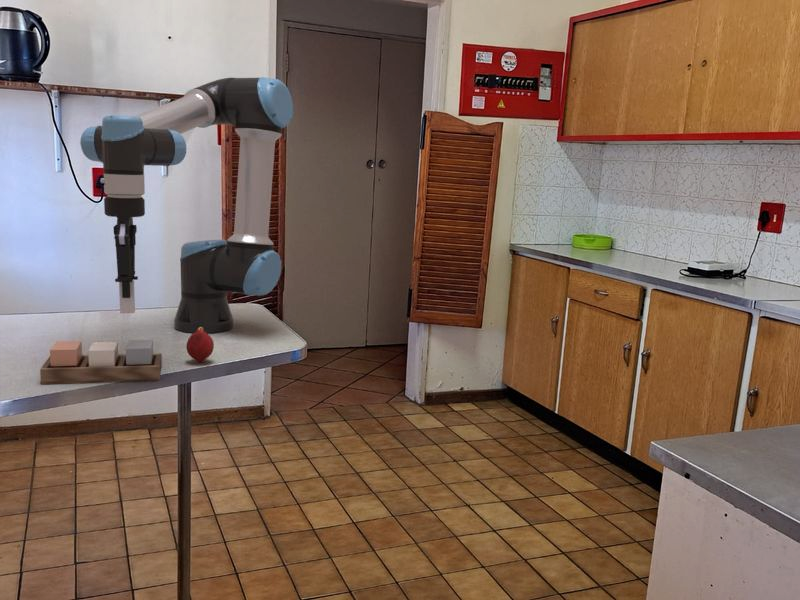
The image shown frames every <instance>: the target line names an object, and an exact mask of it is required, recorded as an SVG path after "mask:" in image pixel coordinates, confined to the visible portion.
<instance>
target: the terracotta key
mask: <svg viewBox="0 0 800 600" xmlns="http://www.w3.org/2000/svg"><path fill="white" fill-rule="evenodd" d="M82 355H83V344H82V340H68V341H67V340H64V341H63V340H60V341H57V340H56V341H55V342H54V344H53V345H52V346H51V348H50V349H49V357H50V364H51V366H77V365H78V363H79V361H80V359H81V358H82Z"/></svg>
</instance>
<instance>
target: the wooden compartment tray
mask: <svg viewBox="0 0 800 600" xmlns="http://www.w3.org/2000/svg"><path fill="white" fill-rule="evenodd" d="M162 359H163V358H162V353H153V358H152V363H151V364H133V365H126V353H124V354H122V353H121V354H119V353H118V359H117V361H116V364H115V366H103V367H89V355H88V354H82V358H81V359H80V361H79V363H78V365H77V366H51V364H50V356H49V357H47V359H46V361H44V364H42V366H41V368H40V369H39V375H40V376H39V377H40V385H60V384H61V385H62V384H63V385H65V384H66V385H67V384H95V383H96V384H99V383H134V382H135V383H136V382H159V381H160V380H161V373H162V368H163V367H162V366H163V364H162V363H163V361H162Z"/></svg>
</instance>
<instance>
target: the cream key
mask: <svg viewBox="0 0 800 600" xmlns="http://www.w3.org/2000/svg"><path fill="white" fill-rule="evenodd" d="M87 353H88V354H87V355H89V367H103V366H115V364H116V361H117V359H118V354H119V343H118V341H100V342H99V341H98V342H96V341H94V342H92V344H91V345H90V347H89V348H88V352H87Z"/></svg>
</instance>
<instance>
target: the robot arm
mask: <svg viewBox="0 0 800 600" xmlns="http://www.w3.org/2000/svg"><path fill="white" fill-rule="evenodd" d="M291 95H292V94H291V93H290V91H289V88H288V87H287V86H286V84H285V83H284V82H283V81H282V80H280V79H277V78H271V77H264V76H262V77H224V78H218V79H215V80H213V81H210V82H208V83H205V84H202V85H199V86H197V87H195V88H191V89H189V90H187V91H186V92H185V93H184V95H183V96H182V97H180V98H178V99H174V100H172V101H170V102H167V103H165V104H163V105H159V106H157V107H155V108H152V109H149V110H147V111H144V112H142V113H139V114H137V115H134V116H131V115H113V114H111V115H108V114H107V115H105V116H104V117H103V118H102V124H101V125H96V126H89V127H87V128H85V130H84V131H83V132H82V134H81V136H80V142H79V143H80V147H81V148H80V149H81V152H82V153H83V156H85V158H87V159H88V160H90V161H93V162H98V163H102V165H103V167H102V168H103V170H102V171H103V172H102V173H103V177H101V178H100V181H99V182H100V183H101V184H104V185H103V193H105V194H106V195H107V196H105V197H104V198H103V205H104V206H103V207H104V208H103V209H104V215H105V216H107V217H114V218H117V220H116V224H115V225H113V234H114V235H113V239H114V240H115V242H114V243H115V252H116V253H115V254H116V267H117V268H116V269H117V270H116V271H117V278H115V280H114V282H115V283H118V289H119V314H135V313H136V306H135V305H136V303H135V302H136V300H135V299H136V298H135V280H136V281H137V280H138V279H139V276H138V275H136V270H135V269H136V268H135V267H136V263H135V262H136V259H135V258H136V257H135V256H136V251H135V250H136V243H137V242H136V239H137V238H136V234H137V230H138V229H137V228H138V227H137V225H136V224H134V220H133V219H134V218H141V217H143V216H144V215H145V213H146V211H145V209H146V208H145V207H146V203H145V199H144V197H142V196H143V195H145V192H146V191H145V190H146V189H145V188H146V187H145V186H146V185H145V166H156V167H157V166H162V167H163V166H164V167H170V166H177V165H179V164H181V163H182V162H183V160H184V159H185V157H186V155H187V143H186V139H185V137H184V136H183V135H182V134H184V133H186V132H189V131H191V130H193V129H195V128H200V129H204V128H208V127H211V126H214V125H216V126H217V125H229V126H230V125H231V126H234V131H235V133H236V134H237V136H238V137H239V140H240V141H239V154H238V155H239V156H238V168H237V169H238V170H237V171H238V172H237V185H236V199H235V200H236V201H235V212H234V226H233V227H234V230H233V234H232V235H231V236H230V237H229V238H227V240H226V239H211V240H210V239H207V240H199V241H190V242H185V243H184V244H183V245H182V246H181V249H180V258H179V261H180V301H179V304H178V306H177V310H176V313H175V316H174V320H173V321H174V322H173V323H174V326H173V327H174V329H175V330H177V331H180V332H185V333H191V334H193V333H195V332H196V331H197V330H198V328H199V327H203V328H204V332H206V333H207V334H211V333H212V334H213V333H221V332H226V331H229V330H231V329H233V328H234V317H233V314H232V311H231V308H230V305H229V302H228V298H227V293H236V294H244V295H247V296H265V295H267V294H269V293H270V292H272V291H273V290H274V288H275V287H276V286H277V284H278V281H279V280H280V277H281V272H282V259H281V256H280V254H279V253H278V252H276V251H275V250H274V242H273V241H272V239H270V237H269V232H270V231H269V229H270V216H271V203H272V191H273V190H272V188H273V174H274V161H275V148H276V147H275V146H276V141H278V140H279V139H280V138H281V137H282V135H283V128H286V127H288V126H289V125H290V124H291V121H292V119H293V117H294V103H293V99H292V96H291ZM135 275H136V276H135Z"/></svg>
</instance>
